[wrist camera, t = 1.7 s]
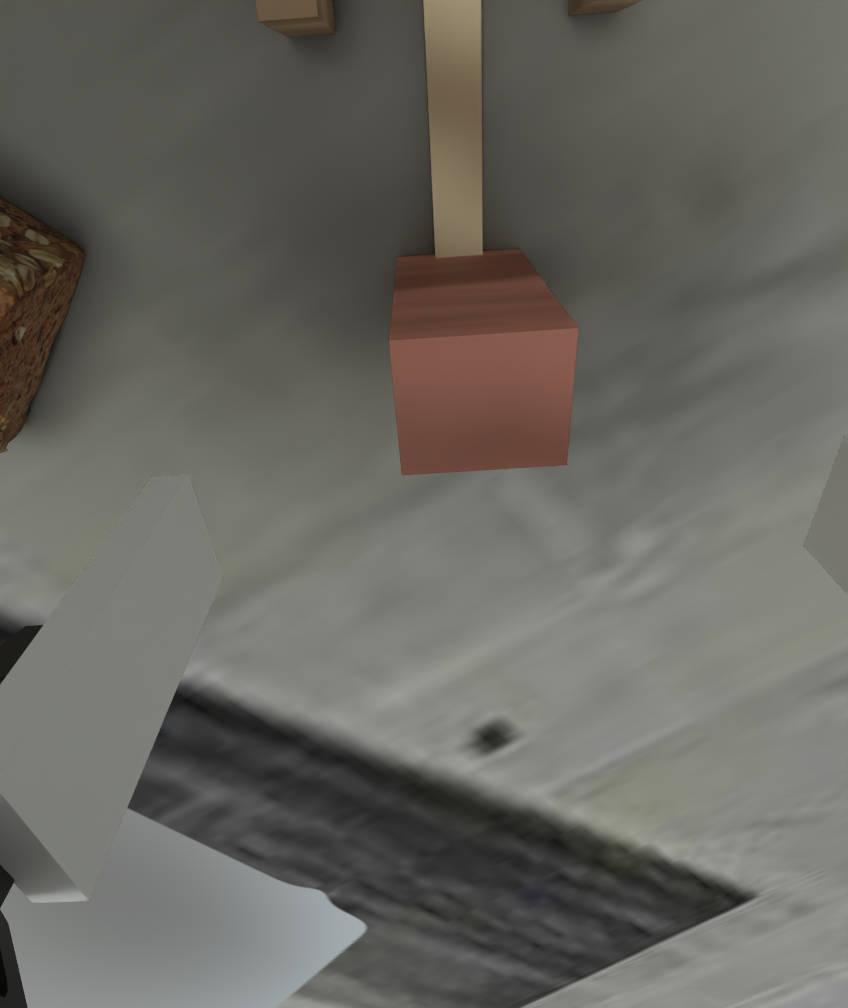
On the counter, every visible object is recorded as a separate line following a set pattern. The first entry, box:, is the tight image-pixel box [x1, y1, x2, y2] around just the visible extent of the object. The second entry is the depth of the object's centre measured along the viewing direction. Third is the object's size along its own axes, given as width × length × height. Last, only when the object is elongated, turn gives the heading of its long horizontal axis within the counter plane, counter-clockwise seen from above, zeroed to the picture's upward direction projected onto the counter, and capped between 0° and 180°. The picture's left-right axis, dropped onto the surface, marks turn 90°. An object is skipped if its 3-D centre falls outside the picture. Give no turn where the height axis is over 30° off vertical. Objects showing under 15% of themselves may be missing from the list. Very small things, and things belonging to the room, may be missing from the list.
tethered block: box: [389, 0, 579, 475], centre depth 15 cm, size 21×6×10 cm, turn 4°
